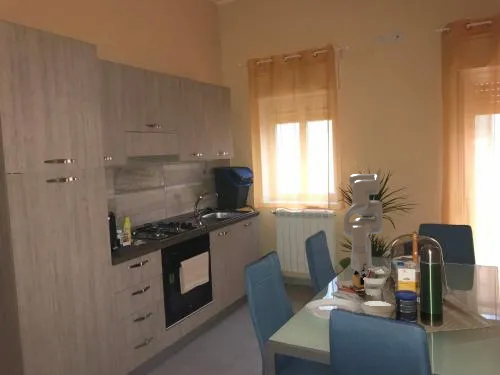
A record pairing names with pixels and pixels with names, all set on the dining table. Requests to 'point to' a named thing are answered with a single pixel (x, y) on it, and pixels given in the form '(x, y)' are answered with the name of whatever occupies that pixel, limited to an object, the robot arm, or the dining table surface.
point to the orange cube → (356, 281)
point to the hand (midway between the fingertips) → (360, 282)
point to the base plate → (356, 287)
